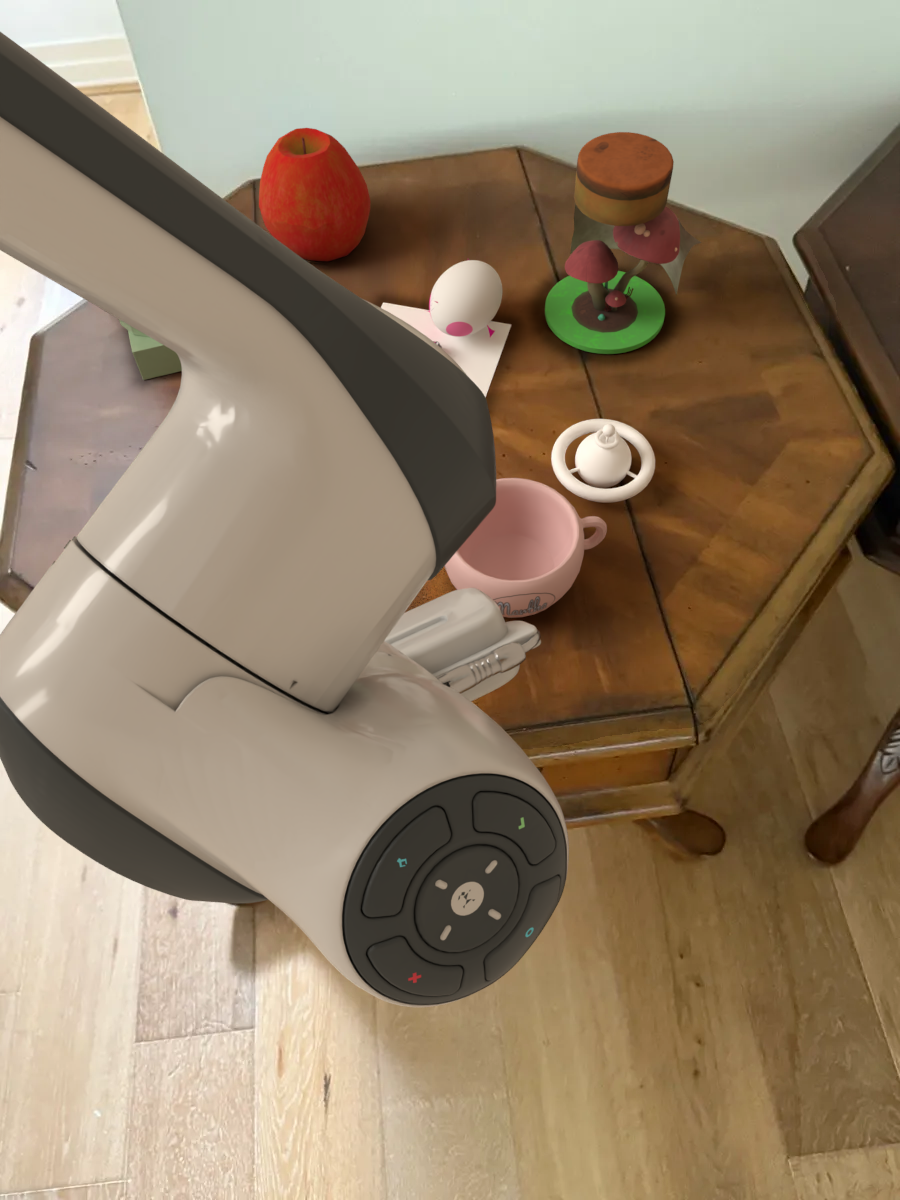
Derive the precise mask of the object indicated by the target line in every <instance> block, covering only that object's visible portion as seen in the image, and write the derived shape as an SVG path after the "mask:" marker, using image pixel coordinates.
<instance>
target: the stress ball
mask: <svg viewBox="0 0 900 1200" xmlns="http://www.w3.org/2000/svg"><path fill="white" fill-rule="evenodd" d="M502 299H503V283H502V280H501V277H500V275H499V273H498V272H497V270H496V269H495V268H494V267H493V266H492V265H490V264H488V263H486V262H485V261H482V260H476V259H467V260H464V261H463V260H462V261H460V262H458V263H455V264H453V265H452V266H450V267H449V268H447V269H446V270H445V271H444V272H443V273H441V275H440V276H439V277H438V278H437V280H436V281H435V283H434V285H433V287H432V289H431V292H430V295H429V302H428V310H429V311H428V312H430V315H431V318H432V321H433V323H434V324H435V325H436V327H437V328H438V329H439V330H440V331H442V332H443V333H445V334H447V335H450V336H455V337H463V336H468V335H471V334H474V333H476V332H478V331H480V330H481V329H483V328H484V327H485V326H486V325H487V324H488V323H489V322H490V321H493V319H494V318H495V317H496V315H497V313H498V311H499V309H500V307H501V304H502ZM424 310H425V311H426V310H427V309H424ZM487 327H488V325H487ZM488 330H489V334H490V337H491V336H492V335H493V333H494V332H495V331H494V330H492V329H490V328H489V327H488Z"/></svg>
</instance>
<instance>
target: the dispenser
mask: <svg viewBox="0 0 900 1200" xmlns="http://www.w3.org/2000/svg"><path fill="white" fill-rule="evenodd" d="M118 322H119V324H120V326H121V327H123V328H124V329H125V330H126V331H127V333H128V339H129V343H130V349H131V353H132V356H133V358H134V361H135V363H136V366H137V368H138V371H139V373H140V376H141V378H142V380H143V381H146V380H150V379H154V378H159V377H162V376H163V377H164V376H166V375H171V374H176V373H179V372H182V366H181V362H180V359H179V357H178V355H177V353H176V352H174V351H173V350H171V349H170V348H168V347H166V346H164V345H163V344H161V343H159V342H158V341H156V340H154V339H152V338H151V337H149V336H147V335H145V334H144V333H142V332H140V331H139V330H137V329H135V328H133V327H132V326H130V325H128V324H127V323H125V322H123V321H121V320H120V319H118Z"/></svg>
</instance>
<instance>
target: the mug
mask: <svg viewBox="0 0 900 1200" xmlns="http://www.w3.org/2000/svg"><path fill="white" fill-rule="evenodd" d="M586 528H595V531H594V533H593V535H591V536H590V537H588V538H586V539H585V531H584V529H586ZM607 531H608V525H607V523H606V522H605V520H604V519H603V518H601V517H600V516H595V515H592V516H591V515H590V516H585V517H583V518H581V517H580V516H579V514H578V512H577V510H576V507H574V505H573V504H572V503H571V502H570V501H569V500H568V499H567V497H565V496H564V495H563V494H561V493H560V492H558V491H557V490H556V489H555V488H553V487H551V486H549V485H547V484H544V483H543V482H539V481H536V480H533V479H529V478H522V477H521V478H520V477H505V478H503V477H502V478H496V504H495V506H494V508H493V509H492V511H491V512H490V513H489V514H488V515H487V516H486V518H485V519H484V520H483V521H482V522H481V523H480V525H479V526H478V527H477V528H476V529H475V531H474V532H473V533H472V534H471V535H470V536H469V538H468V539H467V540H466V541H465V542H464V543H463V545H462V546H461V547H460V548H459V549H458V551H457V552H456V553H455V554H454V555H453V556H452V558H451V559H450V560H449V561H448V562H447V563H446V565H445V566H444V567H443V568H444V569H445V572H446V574H447V576H448V578H449V580H450V582H451V584H452V585H453V587H454V588H455V590H459V589H464V588H476V589H479V590H481V591H482V592H484V593H485V594H487V595H488V596H489V597H491V598H492V599H493V600H494V601H495V602H496V604H497V605H498V606H499V608H500V610H501V613H502V615H503V618H509V619H510V618H511V619H512V618H524V617H528V616H532V615H536V614H539V613H541V612H543V611H546V610H547V609H548V608H550V607H551V606H553V605H554V604H555V603H557V602H558V601H559V600H561V599H562V598H563V596H564V595H565V594H566V593H567V592H568V591H569V590H570V589H571V588H572V586H573V584H574V582H575V581H576V579H577V577H578V575H579V574H580V571H581V567H582V564H583V559H584V555H585V551H586V550H590V549H593V548H595V547H596V546H598V545H600V544H601V542H602V541H603V540H604V539H605V538H606V535H607Z"/></svg>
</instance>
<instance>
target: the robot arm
mask: <svg viewBox="0 0 900 1200" xmlns="http://www.w3.org/2000/svg"><path fill="white" fill-rule="evenodd" d="M0 251H1V252H3V253H4V254H6V255H8V256H9V257H10V258H12V259H14V260H16V261H17V262H19V263H22V264H23V265H25V266H27V267H28V268H30V269H32V270H34V271H35V272H37V273H38V274H41V275H42V276H44V277H45V278H47V279H49V280H51V281H52V282H54V283H56V284H58V285H59V286H61V287H62V288H64V289H66V290H68V291H70V293H73V294H75V295H76V296H78V297H80V298H82V299H83V300H85V301H87V302H89V303H91V305H94V306H96V307H97V308H99V309H101V310H102V311H104V312H106V313H107V314H109V315H111V316H113V317H115V318H116V319H117V320H119V319H120V320H121V321H123V322H125V323H127V324H128V325H130V326H132V327H133V328H135V329H137V330H139V331H140V332H142V333H144V334H145V335H147V336H149V337H151V338H152V339H154V340H156V341H158V342H159V343H161V344H163V345H164V346H166V347H168V348H170V349H171V350H173V351H174V352H176V353H177V355H178V357H179V359H180V362H181V366H182V371H181V378H180V384H179V385H180V386H179V389H178V393H177V394H176V397H175V400H174V402H173V404H172V405H171V408H170V409H169V411H168V413H167V414H166V416H165V417H164V419H163V420H162V421H161V423H160V425H159V426H158V427H157V428H156V429H155V431H154V432H153V434H152V435H151V436H150V438H149V439H148V440H147V442H146V443H145V444H144V446H143V447H142V448H141V450H140V451H139V452H138V454H137V455H136V456H135V457H134V459H133V460H132V462H131V464H130V465H129V466H128V467H127V469H125V471H124V473H123V474H122V475H121V477H120V478H119V479H118V480H117V482H116V483H115V485H114V486H113V487H112V489H110V491H109V492H108V493H107V495H106V497H105V498H104V499H103V501H102V502H101V503H100V505H99V506H98V507H97V509H96V510H95V511H94V512H93V514H92V515H91V516H90V518H89V519H88V520H87V522H86V523H85V525H84V526H83V527H82V529H80V531H79V533H78V534H77V535H75V536H73V537H72V539H69V540H68V541H67V543H66V544H65V546H64V547H63V551H62V552H61V553H60V555H59V556H58V557H57V559H56V560H54V561H53V562H52V563H51V564H50V566H49V567H48V569H47V570H46V571H45V573H44V574H43V575H42V577H41V578H40V579H39V581H38V582H37V584H36V585H35V586H34V587H33V589H32V590H31V592H30V593H29V594H28V595H27V597H26V598H25V600H24V601H23V603H22V604H21V605H20V606H19V608H18V609H17V611H16V612H15V613H14V615H13V616H12V617H11V619H10V620H9V621H8V623H7V624H6V626H5V627H4V628H3V629H2V631H1V633H0V762H1V763H2V765H3V768H4V770H5V772H6V774H7V775H6V776H7V777H8V780H9V782H10V783H11V785H12V787H13V788H14V790H15V792H16V794H17V795H18V796H19V798H20V799H21V800H22V801H23V803H24V804H25V805H26V806H27V808H28V810H30V811H31V812H32V814H33V815H34V816H35V817H36V818H37V819H38V820H39V821H40V822H41V823H42V824H44V826H45V827H47V829H48V830H50V831H51V832H52V833H54V834H55V835H56V836H58V837H59V838H60V839H62V840H63V841H64V842H65V843H67V844H68V845H70V846H71V847H73V848H74V849H76V850H77V851H79V852H81V853H82V854H83V855H85V856H87V857H88V858H90V859H91V860H93V861H94V862H96V863H98V864H100V865H101V866H102V867H105V868H106V869H108V870H110V871H112V872H114V873H115V874H117V875H118V876H119V875H120V876H121V877H124V878H125V879H127V880H130V881H132V882H134V883H137V884H139V885H141V886H143V887H145V888H148V889H151V890H154V891H157V892H160V893H163V894H165V895H168V896H171V897H175V898H178V899H182V900H186V901H192V902H205V903H206V902H207V903H222V904H251V903H252V904H253V903H259V902H260V903H261V902H264V901H269V902H271V903H272V904H273V905H274V906H275V907H276V908H278V910H280V911H281V912H282V913H283V914H285V915H286V916H287V918H289V919H290V920H291V921H292V922H293V923H294V924H295V925H296V926H297V927H298V928H299V929H300V930H301V931H302V933H303V934H304V935H305V936H306V937H307V938H308V939H309V941H311V943H312V944H313V945H314V947H316V948H317V950H318V951H319V952H320V953H321V954H322V955H323V957H324V958H325V959H326V960H327V961H328V962H329V964H330V965H332V967H334V968H335V970H337V971H338V972H339V974H341V976H343V977H344V978H345V979H346V980H348V981H349V982H350V983H352V984H353V985H354V986H356V987H357V988H359V989H360V990H363V991H364V992H366V993H367V994H369V995H371V996H373V997H374V998H377V999H379V1000H381V1001H383V1002H386V1003H388V1004H391V1005H396V1006H400V1007H408V1008H430V1007H431V1008H433V1007H438V1006H443V1005H444V1006H445V1005H448V1004H451V1003H455V1002H458V1001H461V1000H463V999H465V998H468V997H470V996H472V995H474V994H477V993H479V992H480V991H482V990H484V989H486V988H488V987H489V986H491V985H493V984H494V983H496V982H497V981H499V979H501V978H502V977H504V976H505V975H506V974H507V973H508V972H509V971H511V970H512V969H513V968H514V967H515V966H516V964H518V963H519V962H520V960H521V959H522V958H523V957H524V956H525V955H526V953H527V952H528V951H529V949H530V948H531V947H532V946H533V944H534V943H535V942H536V941H537V939H538V937H539V936H540V934H542V932H543V931H544V929H545V927H546V926H547V924H548V922H549V921H550V919H551V917H552V916H553V914H554V912H555V910H556V909H557V906H558V905H559V903H560V901H561V898H562V896H563V893H564V890H565V887H566V882H567V878H568V871H569V861H570V839H569V832H568V827H567V824H566V819H565V814H564V812H563V810H562V807H561V805H560V802H559V801H558V799H557V796H556V795H555V793H554V791H553V790H552V788H551V786H550V784H549V783H548V781H547V779H546V778H545V777H544V775H543V774H542V773H541V772H540V770H539V768H538V767H537V766H536V765H535V764H534V762H533V761H532V760H531V758H529V756H528V755H527V754H526V752H525V751H524V750H523V749H522V747H521V746H520V745H519V743H517V742H516V741H515V740H514V739H513V738H512V737H511V736H510V735H509V734H508V733H507V731H505V729H504V728H503V727H502V726H501V725H500V724H499V723H498V722H497V721H495V720H494V718H492V717H491V716H490V715H488V714H487V713H486V712H485V711H484V710H482V709H481V708H480V707H479V706H477V705H476V704H475V703H474V702H473V701H475V700H478V699H479V698H482V697H484V696H486V695H488V694H489V693H491V692H494V691H496V690H497V689H500V688H501V687H503V686H504V685H506V684H507V683H509V682H510V681H511V680H513V679H514V678H515V677H516V676H517V675H518V673H519V672H520V671H519V670H520V666H521V664H522V663H523V662H525V661H526V659H527V655H526V653H528V652H530V651H531V650H534V649H536V648H537V647H539V646H540V645H541V644H542V640H541V638H542V634H541V631H540V630H538V629H537V627H536V626H535V625H534V624H531V623H529V622H527V621H523V620H510V621H505V617H503V615H502V613H501V610H500V608H499V606H498V605H497V604H496V602H495V601H494V600H493V599H492V598H491V597H489V596H488V595H487V594H485V593H484V592H482V591H481V590H479V589H476V588H464V589H459V590H457V589H454V590H452V591H449V592H447V593H445V594H442V595H440V596H439V597H436V598H434V599H431V600H429V601H427V602H425V603H423V604H421V605H418V606H416V607H414V608H412V609H409V610H408V608H409V607H410V606H411V604H412V603H413V601H414V600H415V599H416V597H417V596H418V594H419V593H420V591H421V590H422V589H423V587H424V586H425V584H426V583H427V582H429V581H432V580H433V579H434V578H436V576H437V575H438V574H440V572H441V570H442V569H444V568H445V567H444V566H445V565H446V563H447V562H448V561H449V560H450V559H451V558H452V556H453V555H454V554H455V553H456V552H457V551H458V549H459V548H460V547H461V546H462V545H463V543H464V542H465V541H466V540H467V539H468V538H469V536H470V535H471V534H472V533H473V532H474V531H475V529H476V528H477V527H478V526H479V525H480V523H481V522H482V521H483V520H484V519H485V518H486V516H487V515H488V514H489V513H490V512H491V511H492V509H493V508H494V506H495V504H496V480H497V462H496V461H497V460H496V446H495V445H496V444H495V438H494V436H495V435H494V431H493V424H492V419H491V414H490V409H489V405H488V401H487V398H486V397H485V396H484V394H483V393H482V391H481V390H480V389H479V387H478V386H477V385H476V384H475V383H474V382H473V381H472V380H471V379H470V378H469V377H468V376H467V375H466V373H465V372H464V371H463V370H462V368H461V367H460V366H459V365H458V364H457V363H456V362H455V361H454V360H453V359H452V358H451V357H450V356H449V355H448V354H447V353H446V352H445V351H444V350H443V349H441V348H440V347H439V346H438V345H437V344H436V343H434V342H433V341H432V340H431V339H429V338H428V337H427V336H425V335H424V334H423V333H421V332H420V331H418V330H417V329H415V328H414V327H412V326H411V325H409V324H408V323H406V322H404V321H403V320H401V319H399V318H398V317H396V316H394V315H393V314H391V313H389V312H388V311H386V310H384V309H382V308H381V306H378V305H376V304H374V303H372V302H370V301H368V300H366V299H364V298H363V297H360V296H359V295H357V294H356V293H354V292H353V291H351V290H350V289H348V288H347V287H345V286H344V285H342V284H340V283H339V282H338V281H336V280H334V278H331V277H330V276H329V275H327V274H325V273H324V272H323V271H321V270H320V269H318V268H317V267H316V266H314V265H313V264H312V263H310V262H309V261H308V260H306V259H303V258H301V257H300V256H298V255H297V254H296V253H294V252H293V251H292V250H290V249H289V248H288V247H286V246H285V245H284V244H282V243H281V242H280V241H278V240H277V239H275V238H274V237H273V236H272V235H271V233H270V232H269V231H266V230H265V229H264V228H262V227H261V226H260V225H258V224H257V223H256V222H255V221H253V220H252V219H250V218H249V217H248V216H246V214H244V213H243V212H242V211H240V210H239V209H237V208H236V207H235V206H233V205H232V204H231V203H229V202H228V201H226V199H224V198H223V197H221V196H220V195H219V194H218V193H216V192H215V191H213V190H212V189H210V188H209V187H208V186H207V185H205V184H204V183H203V182H202V181H200V180H199V179H197V178H196V177H195V176H194V175H193V174H191V173H189V172H188V171H187V170H185V169H184V168H183V167H181V166H180V165H179V164H178V163H176V162H175V161H174V160H172V159H171V158H170V157H168V156H167V155H165V154H164V153H163V152H162V151H160V150H159V149H158V148H157V147H155V146H154V145H152V144H151V143H150V142H148V141H147V140H146V139H145V138H143V137H142V136H140V134H139V133H137V132H136V131H134V130H133V129H131V128H130V127H128V125H126V124H125V123H123V122H122V121H120V120H119V119H118V118H116V116H114V115H113V114H111V113H110V112H109V111H107V110H106V109H105V108H104V107H102V106H101V105H99V104H98V103H96V101H94V100H93V99H91V98H90V97H89V96H88V95H86V94H85V93H84V92H82V91H81V90H80V89H79V88H77V87H76V86H74V85H73V84H72V83H70V82H69V81H68V80H66V79H65V78H63V76H61V75H60V74H58V73H57V72H56V71H54V70H53V69H51V68H50V67H49V66H47V65H46V64H45V63H43V62H42V61H41V60H40V59H38V58H37V57H35V56H34V55H33V54H32V53H30V52H29V51H28V50H26V49H25V48H23V47H22V46H20V44H18V43H17V42H15V41H14V40H13V39H11V38H10V37H8V36H7V35H6V34H4V33H3V32H2V31H0Z"/></svg>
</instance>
